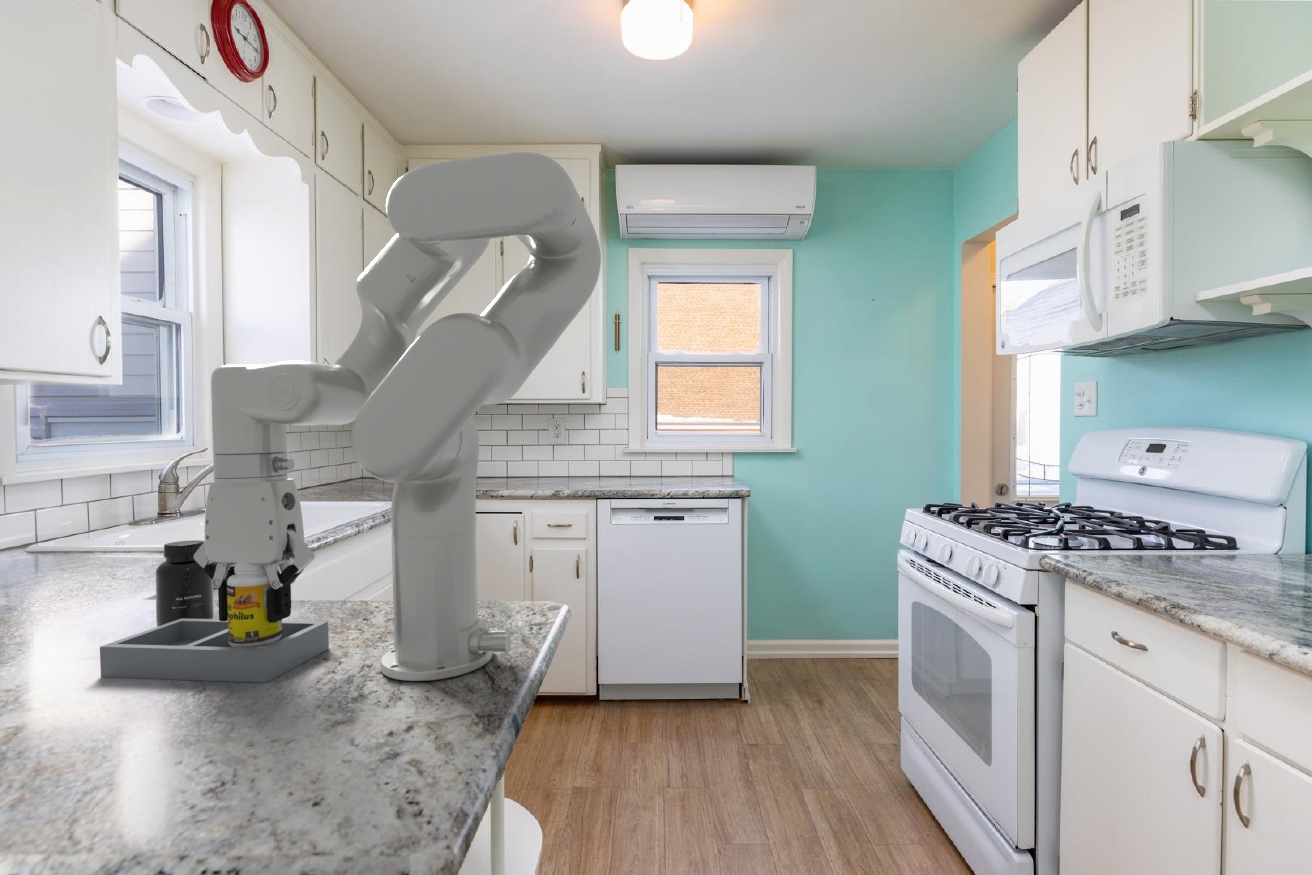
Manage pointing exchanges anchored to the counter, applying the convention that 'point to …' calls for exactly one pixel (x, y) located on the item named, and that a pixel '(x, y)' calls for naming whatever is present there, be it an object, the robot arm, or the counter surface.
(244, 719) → the counter surface
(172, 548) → the supplement bottle
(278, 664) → the divided tray
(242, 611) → the supplement bottle
